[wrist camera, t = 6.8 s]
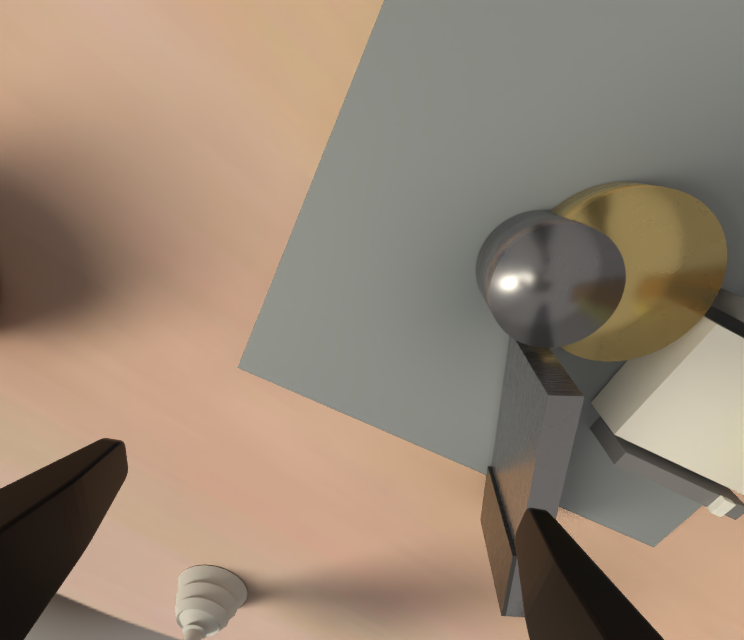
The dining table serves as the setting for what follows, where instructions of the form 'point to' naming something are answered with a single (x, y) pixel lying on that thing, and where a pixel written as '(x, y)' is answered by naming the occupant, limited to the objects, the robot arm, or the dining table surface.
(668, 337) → the cam capstan
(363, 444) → the dining table surface
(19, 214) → the dining table surface
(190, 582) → the chalice
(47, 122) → the dining table surface
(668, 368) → the cam foot
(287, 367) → the level stand
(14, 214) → the dining table surface
